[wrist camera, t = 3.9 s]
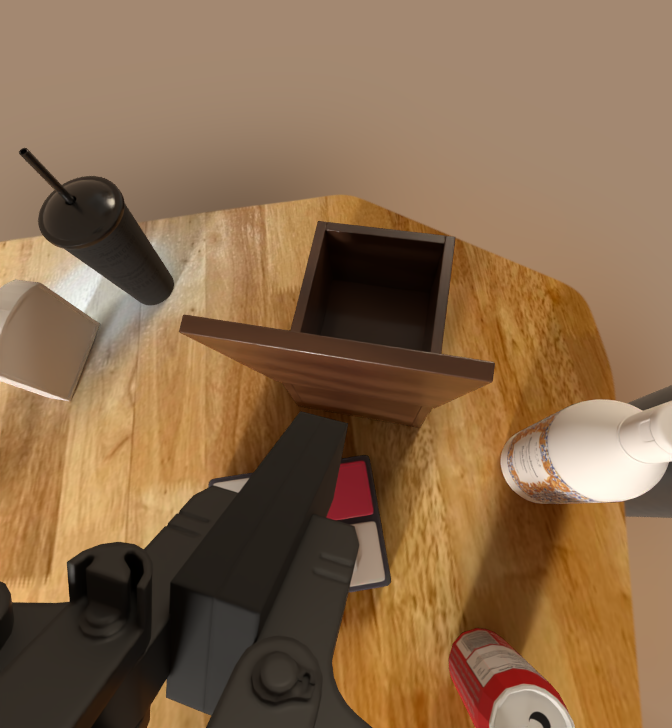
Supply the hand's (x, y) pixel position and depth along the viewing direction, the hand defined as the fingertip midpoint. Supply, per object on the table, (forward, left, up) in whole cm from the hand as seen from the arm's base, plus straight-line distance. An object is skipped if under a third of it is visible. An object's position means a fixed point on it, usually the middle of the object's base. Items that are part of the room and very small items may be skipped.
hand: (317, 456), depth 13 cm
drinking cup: (+31, +12, -29) cm, 44 cm away
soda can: (-17, -4, -29) cm, 34 cm away
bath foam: (-5, -17, -29) cm, 34 cm away
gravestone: (+26, +23, -29) cm, 45 cm away
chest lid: (+6, -3, -11) cm, 12 cm away
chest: (+13, -8, -29) cm, 33 cm away
